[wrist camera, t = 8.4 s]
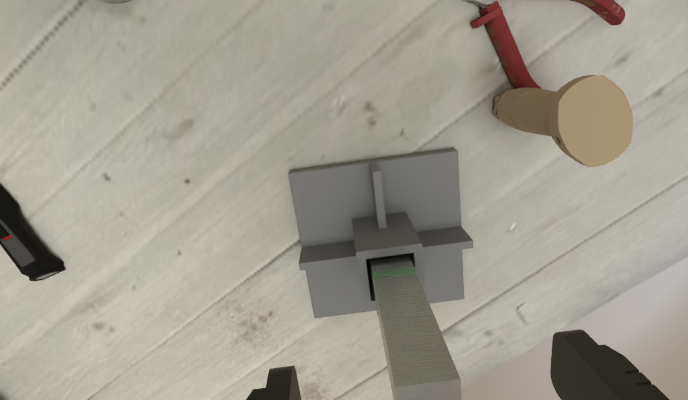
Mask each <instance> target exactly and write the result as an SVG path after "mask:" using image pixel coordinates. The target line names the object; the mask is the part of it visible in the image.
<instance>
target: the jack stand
mask: <svg viewBox="0 0 688 400" xmlns="http://www.w3.org/2000/svg"><path fill="white" fill-rule="evenodd" d="M289 180H290V185H291V191H292V196H293V202H294V207H295V213H296V218H297V224H298V229H299V235H300V240H301V246H302V249H301V254H300V260H299V268H300V271H301V270H306V273H307V279H308V284H309V290H310V295H311V301H312V306H313V312H314V317H315V318H321V317H328V316H336V315H344V314H352V313H359V312H367V311H375V310H377V309H376V301H375V295H374V290H373V284H372V276H371V268H370V260H369V259H370V258H377V257H385V256H392V255H400V254H409V256H410V259H411V261H412V263H413V266H414V267H415V269H416V271H417V275H418V278H419V280H420V283H421V285H422V288H423V290H424V292H425V295H426V297H427V300H428V302H429V303H437V302H444V301H452V300H460V299H464V284H463V261H462V249H468V248H473V240H472V239H471V238H470V237H469V235H468V234H467V233H466V232H465V230H464V229H463V228H462V227H461V216H460V193H459V170H458V151H457V150H456V149H454V148H451V149H444V150H437V151H429V152H422V153H415V154H407V155H400V156H392V157H385V158H378V159H370V160H363V161H356V162H348V163H341V164H334V165H326V166H319V167H311V168H304V169H297V170H290V171H289Z"/></svg>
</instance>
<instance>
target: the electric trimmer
mask: <svg viewBox="0 0 688 400" xmlns="http://www.w3.org/2000/svg"><path fill="white" fill-rule="evenodd" d="M0 245H1V246H2V247H3V249H4V250H5V251H6V253H7V254H8V255H9V257H10V258H11V259H12V261H13V262H14V263H15V265H16V266H17V267H18V269H19V270H20V272H21V273H22V274H24V275H26V276H28V277H29V279H30V281H39V280H43V279H46V278H48V277H50V276H53V275H55V274H57V273H59V272H61V271H64V270H65V269H64V267H62V266H63V264H64V263H63V262H62V261H58V260H54V259H53V258H52V257H51V256H50V255H49V253H48V252H47V251H46V250H45V248H44V247H43V246H42V245H41V243H40V242H39V241H38V239H37V238H36V237H35V236H34V234H33V233H32V232H31V231H30V229H29V228H28V227H27V226H26V224H25V223H24V222H23V221H22V219H21V218H20V217H19V216H18V205H17V204H16V203H15V201H14V200H13V199H12V198H11V197H10V196H9V195H8V194H7V193H6V192H5V191H4V190H3V189H2V188H1V187H0ZM48 269H49V270H48ZM41 271H42V272H41Z"/></svg>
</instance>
